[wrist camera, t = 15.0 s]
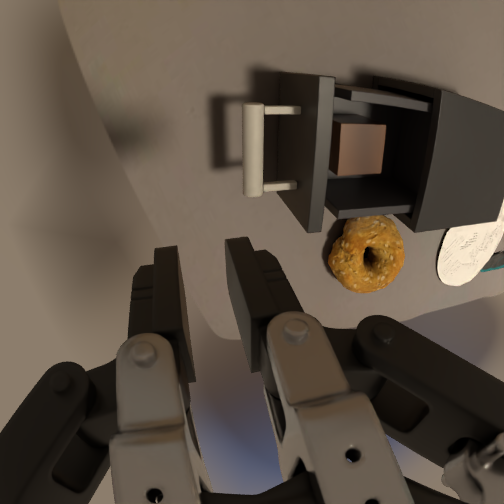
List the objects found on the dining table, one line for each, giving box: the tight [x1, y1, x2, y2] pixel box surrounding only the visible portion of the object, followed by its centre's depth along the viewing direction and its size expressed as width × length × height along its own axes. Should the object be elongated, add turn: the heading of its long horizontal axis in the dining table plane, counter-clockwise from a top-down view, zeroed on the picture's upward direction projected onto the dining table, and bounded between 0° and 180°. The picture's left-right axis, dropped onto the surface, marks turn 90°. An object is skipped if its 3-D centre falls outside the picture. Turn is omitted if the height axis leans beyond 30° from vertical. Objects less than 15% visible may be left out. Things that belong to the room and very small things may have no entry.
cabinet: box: [373, 76, 504, 233], centre depth 26 cm, size 15×13×10 cm
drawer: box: [242, 72, 433, 233], centre depth 24 cm, size 18×12×8 cm, turn 90°
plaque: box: [437, 200, 504, 286], centre depth 42 cm, size 20×20×2 cm
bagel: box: [328, 215, 405, 293], centre depth 35 cm, size 10×11×5 cm
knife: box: [480, 252, 504, 272], centre depth 50 cm, size 24×1×5 cm
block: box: [329, 114, 386, 176], centre depth 25 cm, size 4×4×4 cm
